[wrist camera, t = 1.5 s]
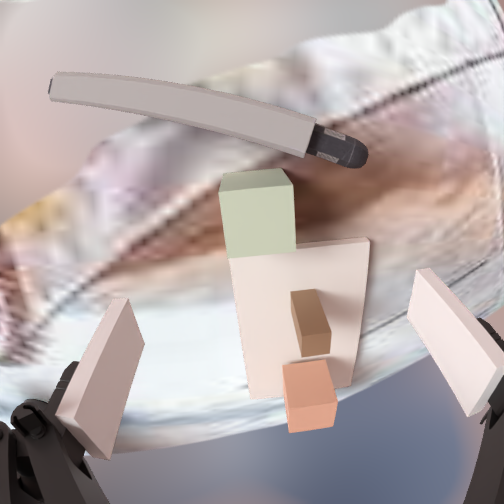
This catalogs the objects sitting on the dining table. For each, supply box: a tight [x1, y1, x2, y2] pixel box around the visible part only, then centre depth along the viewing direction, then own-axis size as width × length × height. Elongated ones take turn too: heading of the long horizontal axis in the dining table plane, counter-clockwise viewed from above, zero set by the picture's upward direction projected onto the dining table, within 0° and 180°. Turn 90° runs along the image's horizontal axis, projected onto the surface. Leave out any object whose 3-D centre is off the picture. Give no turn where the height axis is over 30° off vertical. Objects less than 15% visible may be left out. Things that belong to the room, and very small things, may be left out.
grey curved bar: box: [48, 72, 368, 168], centre depth 22 cm, size 2×25×10 cm, turn 74°
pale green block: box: [219, 168, 296, 259], centre depth 25 cm, size 5×5×7 cm
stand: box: [229, 237, 370, 433], centre depth 31 cm, size 14×22×9 cm, turn 5°
